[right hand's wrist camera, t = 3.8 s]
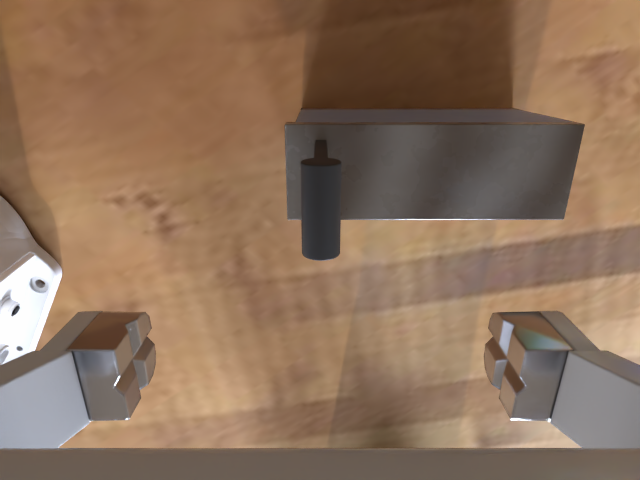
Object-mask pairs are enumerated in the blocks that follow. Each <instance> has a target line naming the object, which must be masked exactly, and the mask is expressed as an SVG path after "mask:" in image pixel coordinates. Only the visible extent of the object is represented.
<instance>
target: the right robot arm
mask: <svg viewBox="0 0 640 480" xmlns="http://www.w3.org/2000/svg"><path fill="white" fill-rule="evenodd" d="M61 277H62V269H61V267H60V265H59V264H58V262H57V261H56V260H55V259H54V258H53V257H52V256H51V255H49V254H48V253H47V252H46V251H45V250H44V249H42V248H41V247H40V246H39V245H38V244H37V243H36V241H35V240H34V238H33V237H32V235H31V233H30V232H29V230H28V228H27V227H26V225H25V223H24V222H23V220H22V219H21V217H20V216H19V215H18V213H17V212H16V211H15V210H14V208H13V207H12V206H11V205H10V204H9V203H8V202H7V201H6V200H5V199H4V198H3V197H1V196H0V480H640V365H638V364H636V363H634V362H631V361H629V360H627V359H625V358H622V357H620V356H618V355H616V354H613V353H611V352H609V351H600V350H599V349H598V348H597V347H596V346H595V345H594V344H593V343H592V342H591V341H590V340H589V339H588V338H587V337H586V336H585V335H584V334H583V333H582V332H581V331H580V330H579V329H578V328H577V327H576V326H575V325H574V324H573V323H572V322H571V321H570V320H569V319H568V318H567V317H566V316H565V315H564V314H563V313H562V312H559V311H537V312H498V313H493V314H492V316H491V318H490V321H489V327H488V329H489V330H490V332H491V333H492V335H493V337H492V338H491V339H490V340H489V341H488V342H487V343H486V344H485V352H484V364H485V370H486V373H487V376H488V378H489V380H490V382H491V384H492V385H494V386H495V387H497V388H498V389H500V394H499V399H500V401H501V403H502V405H503V406H504V408H505V410H506V412H507V414H508V415H509V417H510V419H511V420H531V421H551V422H550V423H551V424H552V425H554V426H555V427H556V428H558V429H559V430H560V431H561V432H563V433H564V434H565V435H566V436H568V437H569V438H570V439H572V440H573V441H574V442H575V443H577V444H578V445H579V446H580V447H582V448H58V447H60V446H61V445H62V444H64V443H65V442H66V441H67V440H69V439H70V438H71V437H72V436H74V435H75V434H76V433H78V432H79V431H80V430H81V429H83V428H84V427H85V426H86V425H88V424H89V423H90V422H89V421H108V420H129V419H130V417H131V416H132V414H133V412H134V410H135V408H136V406H137V405H138V403H139V401H140V399H141V394H140V389H142V388H143V387H145V386H146V385H148V384H149V382H150V380H151V378H152V376H153V374H154V369H155V365H156V350H155V344H154V343H153V342H152V341H151V340H150V339H149V338H148V337H147V335H148V333H149V332H150V330H151V329H152V327H151V322H150V317H149V315H148V314H147V313H146V312H119V311H104V312H103V311H82V312H78V313H77V314H76V315H75V316H74V317H73V318H72V319H71V320H70V321H69V322H68V323H67V324H66V325H65V326H64V327H63V328H62V329H61V330H60V331H59V332H58V333H57V334H56V335H55V336H54V337H53V338H52V339H51V340H50V341H49V342H48V343H47V344H46V345H45V346H44V347H43V348H42V349H41V350H40V351H35V349H36V346H37V343H38V341H39V338H40V335H41V332H42V330H43V327H44V324H45V321H46V319H47V316H48V313H49V310H50V308H51V305H52V302H53V299H54V297H55V294H56V291H57V288H58V286H59V283H60V280H61ZM40 280H42V281H44V283H45V284H43V283H42V282H41V281H40Z"/></svg>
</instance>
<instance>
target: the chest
mask: <svg viewBox="0 0 640 480" xmlns="http://www.w3.org/2000/svg"><path fill="white" fill-rule="evenodd" d="M296 122H573V121H568V120H563V119H559V118H554V117H550V116H545V115H541V114H536V113H531V112H527V111H522V110H518V109H514V108H301V111H300V113H299V116H298V118H297V120H296Z"/></svg>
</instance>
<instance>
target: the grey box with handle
mask: <svg viewBox="0 0 640 480" xmlns="http://www.w3.org/2000/svg"><path fill="white" fill-rule="evenodd" d="M584 126H585V124H581V123H577V122H286V124H285V151H286V184H287V218H288V220H301V221H302V254H303V256H304V257H306V258H308V259H312V260H319V261H323V260H330V259H334V258H336V257H337V256H338V255H339V254H340V220H563V219H564V216H565V212H566V207H567V203H568V198H569V194H570V189H571V185H572V180H573V176H574V171H575V167H576V162H577V158H578V153H579V149H580V144H581V140H582V135H583V131H584Z"/></svg>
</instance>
